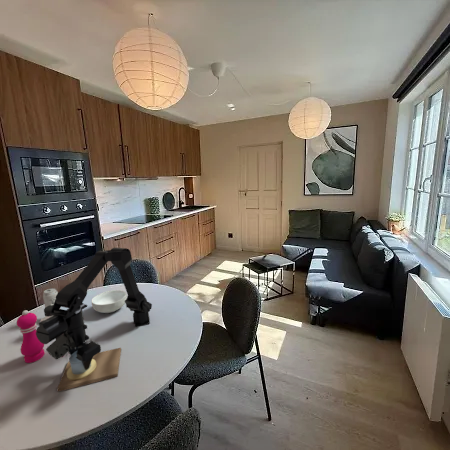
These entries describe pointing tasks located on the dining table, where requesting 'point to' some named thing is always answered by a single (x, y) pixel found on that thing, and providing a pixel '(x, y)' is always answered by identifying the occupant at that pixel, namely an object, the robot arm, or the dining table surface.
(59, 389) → the base
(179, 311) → the dining table surface
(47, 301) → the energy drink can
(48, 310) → the medicine bottle
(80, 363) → the cap
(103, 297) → the cereal bowl
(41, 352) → the pepper mill
